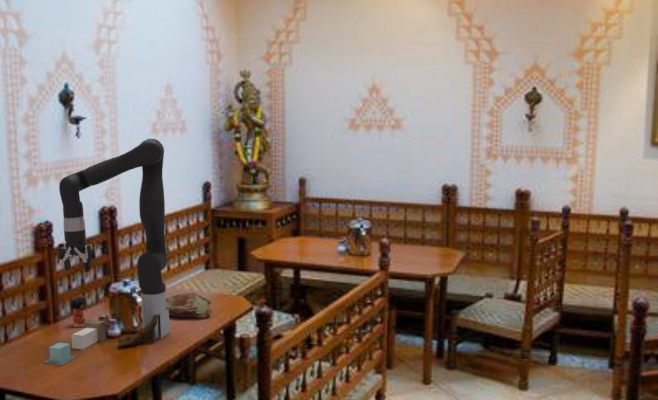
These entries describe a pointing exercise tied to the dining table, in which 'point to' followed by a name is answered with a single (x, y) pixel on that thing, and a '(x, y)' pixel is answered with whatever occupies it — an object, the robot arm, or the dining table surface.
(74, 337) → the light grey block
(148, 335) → the dark brown curved piece
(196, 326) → the dining table surface
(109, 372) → the dining table surface
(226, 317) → the dining table surface
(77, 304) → the figurine
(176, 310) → the stone
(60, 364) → the pad
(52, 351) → the pale teal block
